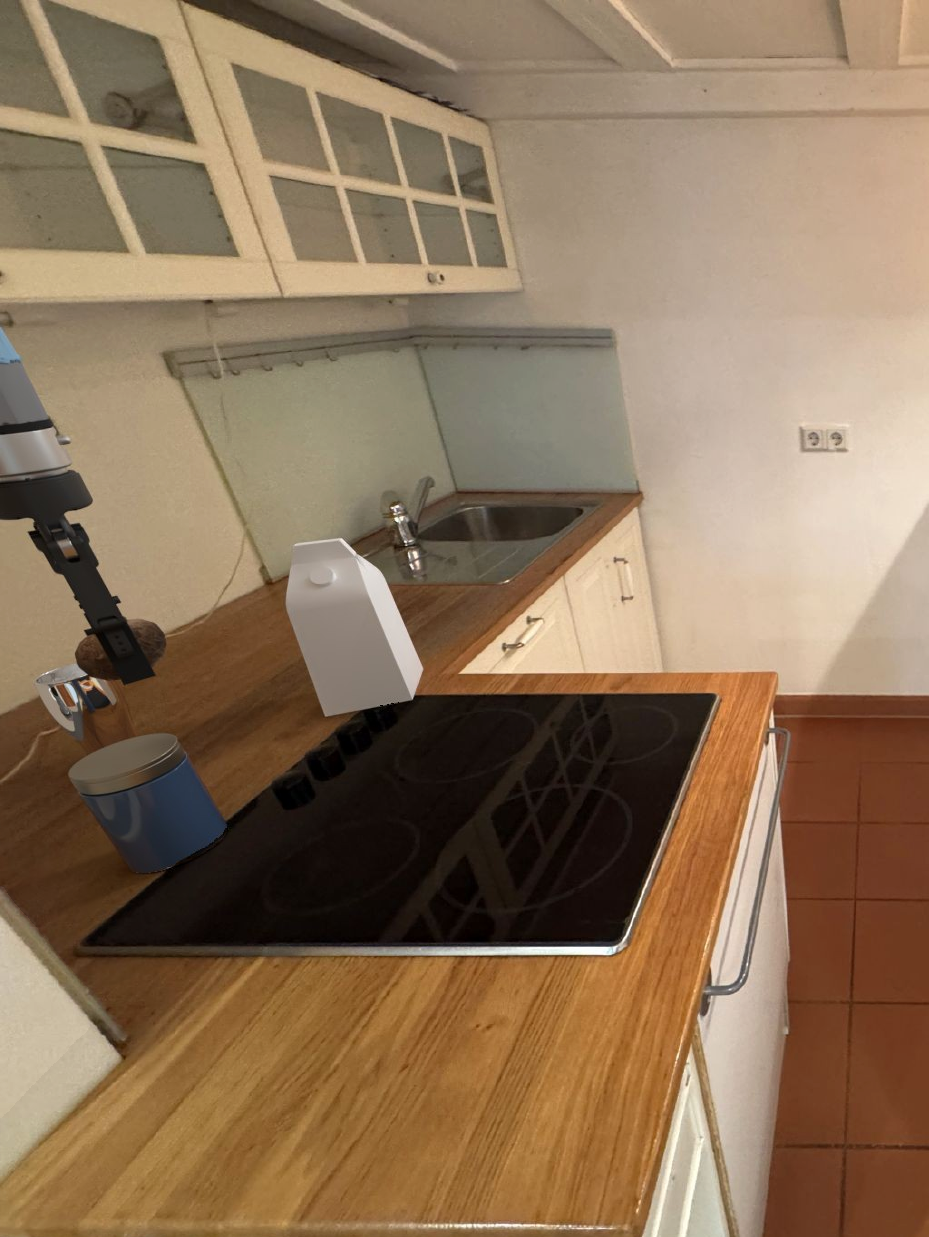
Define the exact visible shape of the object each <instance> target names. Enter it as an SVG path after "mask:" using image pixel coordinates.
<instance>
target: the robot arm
mask: <svg viewBox="0 0 929 1237" xmlns="http://www.w3.org/2000/svg"><path fill="white" fill-rule="evenodd" d="M71 443H72V440H71V439H70V437H69V436H68V435H66V434H59V435H57V429H56V428H55V427H54V423H53V421H52V420H51V419H50V417H49V415H48V414H47V411H46V409H45V407H44V405H43V403H42V401H41V399H40V397H39V395H38V393H37V391H36V389H35V387H34V385H33V383H32V381H31V379H30V377H29V375H28V372H27V371H26V369H25V367H24V365H23V359H22V357H21V355H20V354H19V353H17V351H16V349H15V348H14V346H13V345H12V343H11V341H10V340H9V338H8V336H7V335H6V333H5V332H4V330H3V328H2V327H1V326H0V521H19V520H23V519H30V520H33V522H32V527H33V529H34V530H27V531H26V532H27V534H28V535H29V538H30V540H31V541H32V543H33V545H34V546H35V548H36V550H37V551H38V552H40V553H42V554H43V555H44V557H45V558H46V560H47V562H48V564H49V566H50V567H51V569H52V571H53V572H54V573H55V574H56V575H61V576H63V578H64V579H65V581H66V583H67V584H68V587H69V588H70V590H71V592H72V594H73V596H72V598H74V601H77V602H78V607H79V609H80V610H83V612H84V613H83V616H84V618H85V619H86V621H87V623H88V625H89V626H90V628H87V629H83V632H84V634H85V635H86V637H87V636H88V635H92V634H95V635H96V637H97V639H98V641H99V642H100V644H101V646H102V648H103V649H104V651H105V653H106V655H107V656H108V658H109V660H110V662H111V663H112V665H113V667H114V669H115V670H116V672H117V674H118V676H119V677H120V679H121V680H120V681H121V682H122V685H123V686H127V685H130V684H132V683H136V682H140V681H143V680H147V679H151V678H153V677H157V675H156V673H155V671H154V669H153V668H152V667H151V665H150V663H149V662H148V660H147V658H146V656H145V654H144V652H143V651H142V649H141V647H140V645H139V643H138V641H137V640H136V638H135V636H134V634H133V632H132V630H131V629H130V627H129V625H128V623H127V620H128V619H127V617H126V616H124V615H123V613H122V612H121V610H120V608H119V606H118V604H122V600H120V598H119V595H112V594H111V592H110V590H109V588H108V587H107V585H106V583H105V581H104V579H103V577H102V575H101V574H100V572H99V570H98V567H99V565H100V562H99V559H98V558H97V556H96V554H95V552H94V551H93V548H92V546H91V545H90V542H91V540H90V537H89V535H88V533H87V531H86V530H85V527H84V526H83V525H82V524H81V523H80V522H76V523H70V521H69V520H68V519H67V517H66V515H65V514H66V513H68V512H73V511H75V512H77V511H79V510H83V509H85V508H88V507H89V506H91V505H92V504H93V502H94V499H93V497H92V495H91V492H90V491H89V489H88V486H87V485H86V483H85V481H84V480H83V478H82V476H81V473H80V472H77V471H76V470H74V469H68V467H70V466H71V465H72V464H73V460H72V459H71V456H70V454H69V453H68V451H67V449H66V448H65V447H63V446H66V445H70V444H71Z"/></svg>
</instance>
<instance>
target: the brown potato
mask: <svg viewBox="0 0 929 1237" xmlns="http://www.w3.org/2000/svg"><path fill="white" fill-rule="evenodd" d="M127 623H128V625H129V627H130V629H131V630H132V632H133V634H134V636H135V638H136V640H137V641H138V643H139V645H140V647H141V649H142V651H143V652H144V654H145V656H146V658H147V660H148V662H149V663H150V665H151V667H152V669H153V668H154V667H155V666H156V665H158V663H159V662H160V661H161V660H162V658H164V656H165V651H166V647H167V640H166V634H165V632H164V631H163V630H162V629H161V628H160V626H159V625H158V624H157V623H155V622H153V621H150V620H146V619H142V618H132V619H127ZM74 657H75V661H76V663H77V665H78V667H79V668H80V669H81V670H82V671H84V672H85V673H86V674H87V675H89V676H90V677H92V678H97V679H102V680H107V681H113V680H115V681H121V679H120V677H119V676H118V674H117V672H116V670H115V669H114V667H113V665H112V663H111V662H110V660H109V658H108V656H107V655H106V653H105V651H104V649H103V648H102V646H101V644H100V642H99V641H98V639H97V637H96V635H95V634H92V635H88V636H87V635H86V636H85V637H84V638H83V639H82V640H81V641H79V643H78V645H77V647H76V650H75V652H74Z"/></svg>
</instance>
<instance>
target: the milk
mask: <svg viewBox="0 0 929 1237" xmlns="http://www.w3.org/2000/svg"><path fill="white" fill-rule="evenodd" d="M290 564H291V565H290V569H289V575H288V580H287V588H286V594H285V610H286V612H287V615H288V618H289V621H290V625H291V627H292V630H293V632H294V635H295V638H296V640H297V644H298V646H299V649H300V651H301V655H302V657H303V659H304V662H305V665H306V668H307V672H308V673H309V676H310V679H311V682H312V685H313V687H314V688H313V689H314V691H315V693H316V696H317V698H318V702H319V705H320V707H321V709H322V713H323V715H324V717H325V718H326V717H333V716H336V715H342V714H347V713H352V712H357V711H363V710H368V709H372V708H378V707H381V706H380V705H383V706H388V705H387V704H389V705H392V704H391V703H394V704H399V703H403V702H408V701H409V702H410V701H413V700H414V697H415V695H416V692H417V689H418V687H419V683H420V680H421V677H422V674H423V671H424V666H423V664H422V662H421V660H420V658H419V656H418V653H417V651H416V648H415V646H414V644H413V641H412V639H411V637H410V634H409V631H408V630H407V627H406V625H405V623H404V620H403V618H402V615H401V613H400V611H399V608H398V606H397V603H396V602H395V599H394V597H393V594H392V592H391V589H390V588H389V585H388V583H387V579H386V578H385V576H384V574H383V573H382V571H381V570H380V569H379V568H378V567H377V566H375V565H374V564H372V563H371V562H370V561H368V560H367V559H366V558H364V557H362V556H361V555H359V554H358V553H357V552H356V551H355V550H354V549H353V548H352V547H351V545H350V544H349V543H347V542H346V541H345V540H344V539H343V538H342V537H338V538H331V539H329V538H328V539H322V540H321V539H320V540H314V541H313V540H312V541H305V542H297V543H295V544H293V546H292V553H291V563H290ZM398 702H399V703H398Z"/></svg>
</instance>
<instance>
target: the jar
mask: <svg viewBox="0 0 929 1237" xmlns="http://www.w3.org/2000/svg"><path fill="white" fill-rule="evenodd" d="M184 752H185V755H184V758H183V759H182V760H181V762H180V763H179V764H177V765H176V766H175V767H173V768H172V769H171V770H169V771H167V772H166V773H164V774H162V775H160V776H158V777H156V778H154V779H152V780H150V781H147V782H145V783H142V784H140V785H137V786H134V787H131V788H128V789H125V790H121V791H117V792H112V793H107V794H99V795H88V794H83V793H81V792H79V791H78V790H77V793H78V795H79V796H80V798H81V799H82V801H83V802H84V804H85V805H86V807H87V808H88V810H89V812H90V813H91V815H92V816H93V817H94V819H95V820H96V822H97V823H98V825H99V826H100V828H101V829H102V831H103V832H104V834H105V835H106V836H107V838H108V840H109V842H111V844H112V846H113V847H114V848H115V850H116V852H117V853H118V854H119V856H120V858H121V859H122V860H123V862H124V863H125V865H126V867H127V868H128V870H130V871H131V870H132V871H134V872H133V873H135V872H138V873H137V874H140V873H149V872H150V873H149V874H152V873H151V872H155V871H161V870H164V869H166V868H167V867H171V866H173V865H174V864H176V862H178V861H180V860H182V859H183V858H186V857H188V856H190V855H191V854H193V853H195V852H196V851H198V850H200V849H202V848H205V847H206V846H208V845H209V844H210V843H212V842H214V840H215V839H216V838H219V837H220V836H221V835H222V834H223V832H224V830H225V828H227V825H228V823H227V821H226V819H225V818H224V816H223V814H222V813H221V811H220V809H219V807H218V805H217V804H216V801H215V800H214V798H213V796H212V795H211V793H210V791H209V790H208V787H207V786H206V784H205V782H204V781H203V779H202V777H201V775H200V774H199V771H198V770H197V768H196V767H195V765H194V763H193V761H192V760H191V758H190V756H189V755H188V753H187V751H186V750H184ZM226 823H227V824H226ZM132 871H131V872H132ZM161 872H162V871H161Z"/></svg>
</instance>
